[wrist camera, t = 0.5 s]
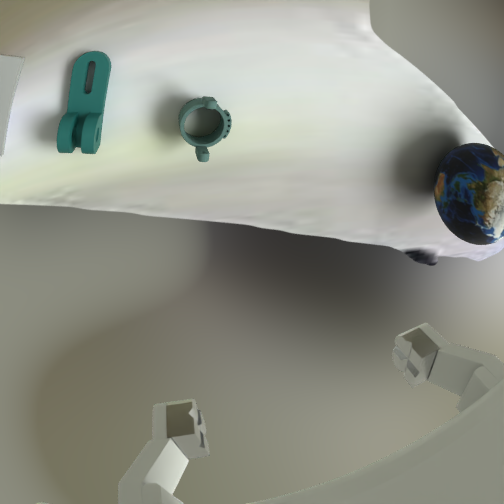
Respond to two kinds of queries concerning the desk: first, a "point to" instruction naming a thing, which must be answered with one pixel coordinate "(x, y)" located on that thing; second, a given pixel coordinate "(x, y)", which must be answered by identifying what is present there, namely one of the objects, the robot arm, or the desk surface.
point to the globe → (472, 193)
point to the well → (7, 91)
